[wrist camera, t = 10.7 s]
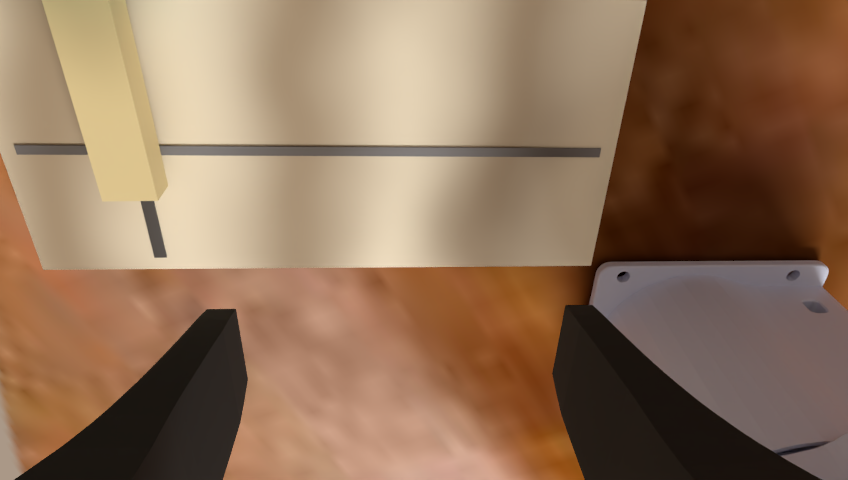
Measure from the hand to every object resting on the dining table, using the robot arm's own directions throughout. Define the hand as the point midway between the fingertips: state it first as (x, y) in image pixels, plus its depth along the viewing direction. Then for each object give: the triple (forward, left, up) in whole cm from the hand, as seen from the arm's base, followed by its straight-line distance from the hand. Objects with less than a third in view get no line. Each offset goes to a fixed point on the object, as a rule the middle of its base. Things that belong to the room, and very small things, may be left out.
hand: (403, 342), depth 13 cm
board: (+2, -2, -9) cm, 10 cm away
